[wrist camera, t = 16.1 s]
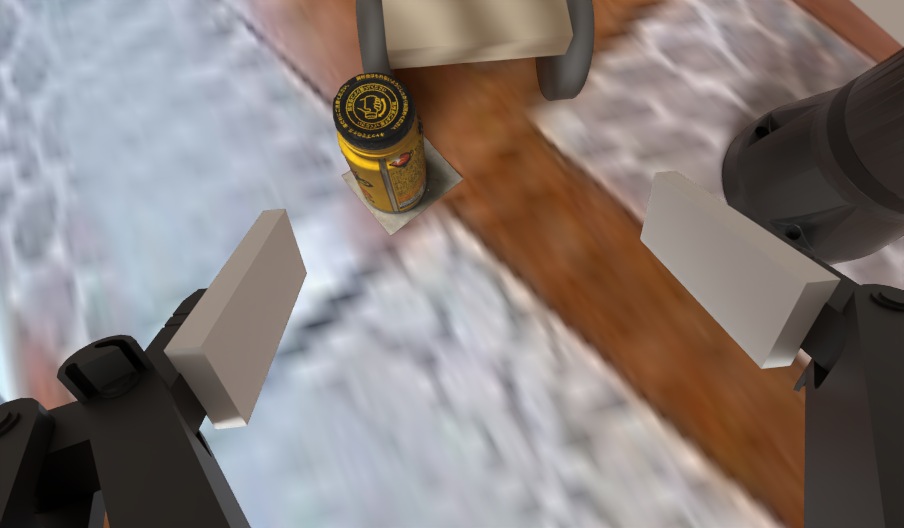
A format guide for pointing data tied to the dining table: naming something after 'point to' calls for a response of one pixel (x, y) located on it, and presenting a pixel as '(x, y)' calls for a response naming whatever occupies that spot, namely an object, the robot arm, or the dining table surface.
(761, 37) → the dining table surface
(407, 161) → the condiment
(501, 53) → the trolley
